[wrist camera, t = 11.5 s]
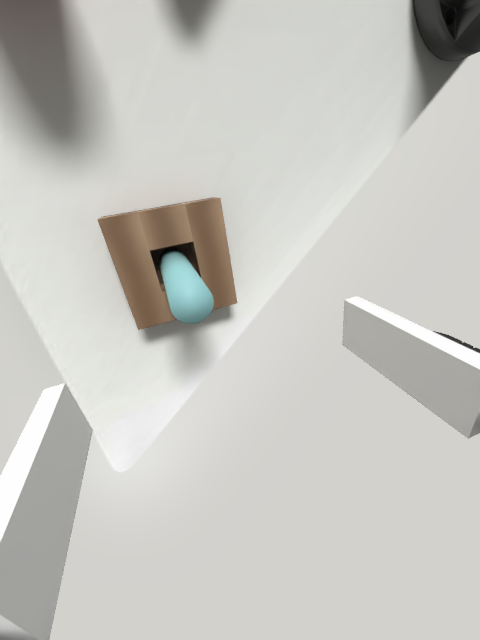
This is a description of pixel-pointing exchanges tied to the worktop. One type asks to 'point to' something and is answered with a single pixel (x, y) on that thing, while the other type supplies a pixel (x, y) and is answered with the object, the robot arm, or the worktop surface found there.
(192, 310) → the pin
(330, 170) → the worktop surface
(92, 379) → the worktop surface
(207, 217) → the board
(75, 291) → the worktop surface
